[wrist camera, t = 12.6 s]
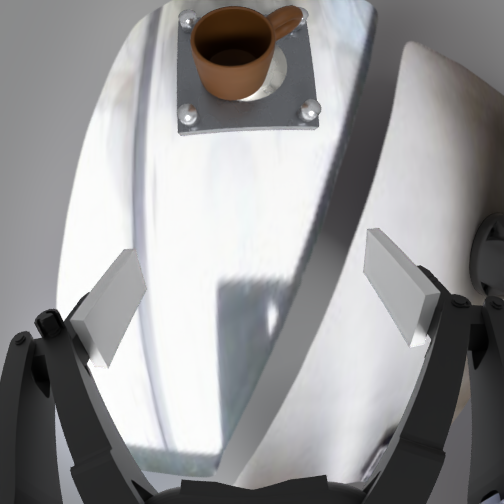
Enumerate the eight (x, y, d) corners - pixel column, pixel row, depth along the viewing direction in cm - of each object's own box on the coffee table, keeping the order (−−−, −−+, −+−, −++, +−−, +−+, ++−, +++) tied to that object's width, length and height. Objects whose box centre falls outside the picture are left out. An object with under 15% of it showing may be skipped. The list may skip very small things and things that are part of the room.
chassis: (302, 24, 29) (310, 5, 24) (314, 130, 32) (326, 121, 28) (181, 27, 28) (174, 8, 23) (181, 135, 32) (172, 127, 27)
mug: (269, 22, 27) (280, -21, 18) (308, 64, 28) (332, 27, 19) (187, 69, 28) (171, 31, 19) (225, 115, 29) (221, 87, 20)
